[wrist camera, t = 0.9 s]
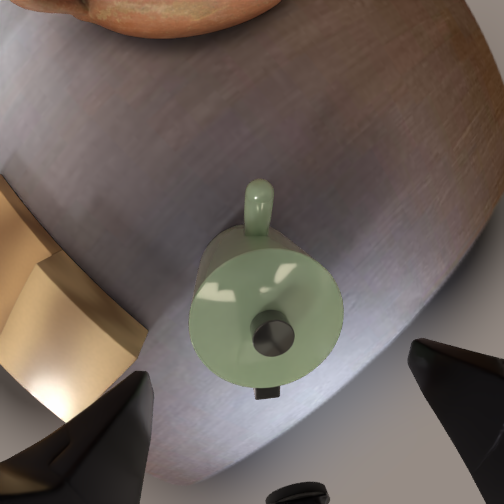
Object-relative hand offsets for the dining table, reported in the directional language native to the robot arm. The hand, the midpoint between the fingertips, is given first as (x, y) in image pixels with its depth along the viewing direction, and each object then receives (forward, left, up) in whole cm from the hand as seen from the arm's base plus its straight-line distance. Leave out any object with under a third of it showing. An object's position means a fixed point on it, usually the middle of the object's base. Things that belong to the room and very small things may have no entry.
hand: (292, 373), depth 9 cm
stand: (-1, +16, -10) cm, 19 cm away
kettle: (0, 0, -10) cm, 10 cm away
